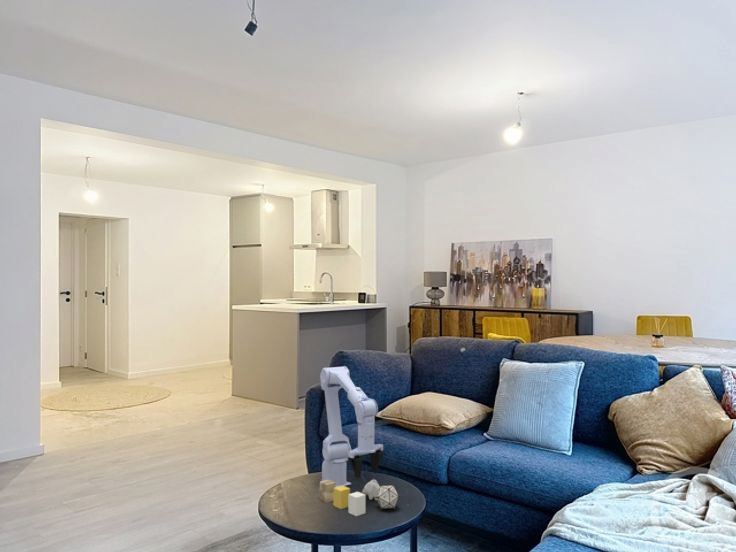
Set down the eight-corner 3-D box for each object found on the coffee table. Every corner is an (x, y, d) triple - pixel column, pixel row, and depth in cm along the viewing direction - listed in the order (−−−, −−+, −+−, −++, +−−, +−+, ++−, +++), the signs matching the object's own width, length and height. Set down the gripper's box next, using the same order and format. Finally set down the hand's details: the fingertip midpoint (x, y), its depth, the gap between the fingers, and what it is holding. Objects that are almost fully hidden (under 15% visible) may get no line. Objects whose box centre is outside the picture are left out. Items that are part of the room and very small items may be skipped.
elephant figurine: (364, 494, 203) (364, 477, 203) (386, 496, 201) (386, 479, 201) (359, 500, 197) (359, 483, 197) (381, 503, 194) (381, 485, 195)
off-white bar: (348, 512, 186) (348, 494, 186) (357, 509, 189) (357, 491, 189) (356, 516, 183) (356, 497, 183) (365, 513, 186) (365, 494, 186)
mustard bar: (333, 505, 192) (333, 488, 192) (342, 502, 195) (342, 485, 195) (340, 509, 189) (340, 491, 189) (350, 506, 192) (350, 488, 192)
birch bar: (319, 499, 198) (319, 482, 198) (328, 496, 201) (328, 479, 201) (326, 502, 195) (326, 485, 195) (335, 499, 198) (335, 482, 198)
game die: (390, 521, 188) (394, 504, 182) (368, 509, 191) (371, 492, 185) (402, 501, 195) (406, 484, 189) (380, 489, 197) (383, 472, 192)
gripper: (357, 441, 188) (357, 482, 187) (389, 434, 197) (389, 473, 197) (344, 437, 193) (344, 477, 193) (375, 430, 203) (375, 468, 202)
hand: (365, 474), depth 195 cm, fingers open, 7 cm apart
